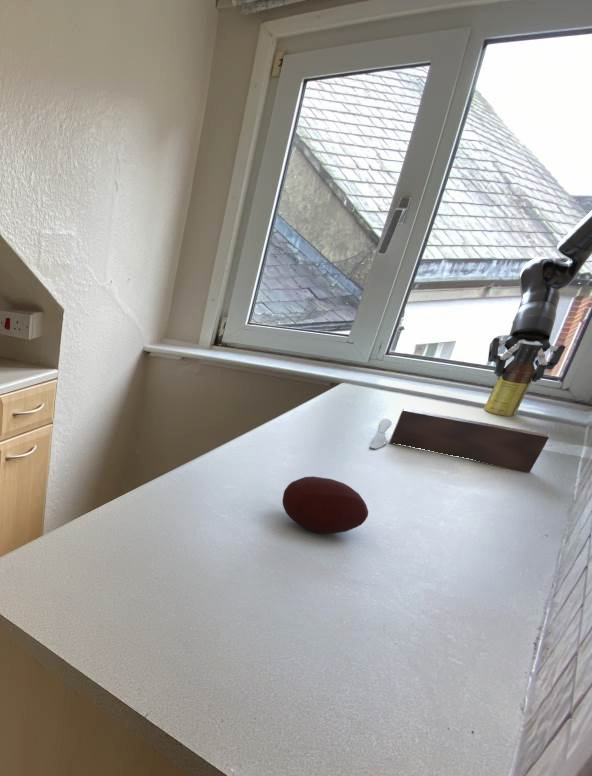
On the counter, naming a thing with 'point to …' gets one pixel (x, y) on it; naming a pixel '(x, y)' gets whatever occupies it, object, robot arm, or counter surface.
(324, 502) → the potato
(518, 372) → the sauce bottle
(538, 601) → the counter surface
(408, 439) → the backsplash board
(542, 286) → the robot arm
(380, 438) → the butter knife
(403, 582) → the counter surface
